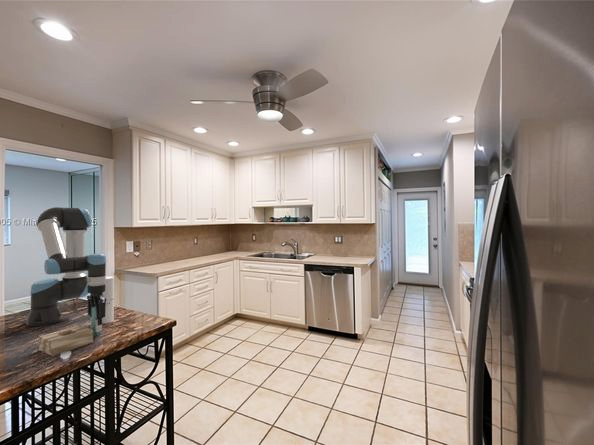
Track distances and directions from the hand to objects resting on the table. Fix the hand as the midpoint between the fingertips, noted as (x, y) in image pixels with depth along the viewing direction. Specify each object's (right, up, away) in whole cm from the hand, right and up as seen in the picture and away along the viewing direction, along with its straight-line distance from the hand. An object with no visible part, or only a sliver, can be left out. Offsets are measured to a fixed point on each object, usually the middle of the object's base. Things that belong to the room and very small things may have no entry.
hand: (96, 330), depth 148 cm
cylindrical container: (-7, -2, +19) cm, 20 cm away
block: (-4, -2, -14) cm, 14 cm away
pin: (0, -2, 0) cm, 2 cm away
